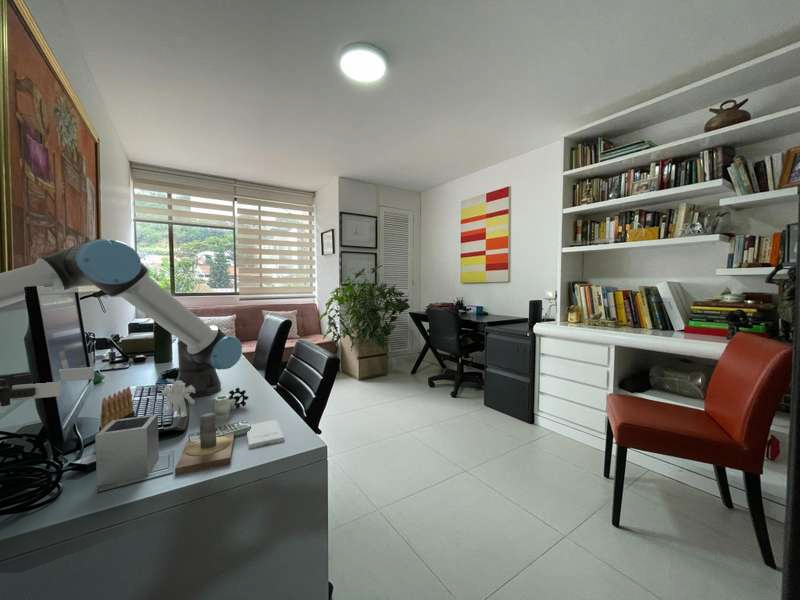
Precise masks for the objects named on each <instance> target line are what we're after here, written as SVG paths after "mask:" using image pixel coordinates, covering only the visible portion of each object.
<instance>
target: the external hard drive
mask: <svg viewBox="0 0 800 600" xmlns="http://www.w3.org/2000/svg"><path fill="white" fill-rule="evenodd" d="M250 425H251V429H250V431H248V432H247V434H246V441H247V447H249V448H250V449H254V448H258V447H257V446H259V447H262V446H261V445H264V446H266V445H265V444H267V445H269V444H268V443H273V444H275V443H274V442H277V443H279V442H278V441H282V440H284V441H285V436H284V433H283V430H282V428H281V426H280V423H279V421H278V420H277V419H272V420H268V421H262V422H256V423H252V424H250ZM282 442H283V441H282ZM253 447H254V448H253ZM249 448H248V449H249Z"/></svg>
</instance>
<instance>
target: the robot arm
mask: <svg viewBox="0 0 800 600" xmlns="http://www.w3.org/2000/svg"><path fill="white" fill-rule="evenodd" d="M149 275H150V270H149V268H148V267H147V266H145V265H144V264H143V263H142V261H141V257H140V255H139V254H138V253H137V251H136V250H135V249H134V248H133V247H132V246H130V245H129V244H127V243H125V242H122V241H120V240H115V239H108V238H107V239H106V238H100V239H94V240H89V241H88V242H83V243H78V244H75V245H73V246H70V247H68V248H66V249H63V250H60V251H58V252H56V253H52V254H50V255H46V256H44V257H40V258H37V259H36V260H35V262H34V264H30V265H25V266H22V267H18V268H15V269H12V270H8V271H3V272H0V308H3V307H6V306H9V305H12V304H15V303H18V302H21V301H24V300H26V299H25V292H24V287H26V286H31V285H38V286H44V287H51V288H58V290H59V291H58V292H63V291H66V290H69V289H72V288H77V287H83V286H88V285H94V286H95V287H96V288H98V289H99V290H100V291H102V292H103V293H105V294H106V295H108V296H109V297H111V298H122V299H123V300H125V301H127V302H128V303H129V304H131V305H132V306H134V307H135V308H136V309H137V310H138V311H140V312H142V314H144V315H145V316H147V317H149V319H151V320H152V321H153V322H155V323H157V324H158V325H159V326H161V327H162V328H163V329H164V330H166V331H167V332H168V333H170V334H172V335H173V336H174V337H176V338H177V355H178V357H177V358H178V376H177V378H176V381H178V380H180V381H183V382H184V383H185V388H187V387H189V385H191V384H192V385H191V386H194V389H195V391H194V392H195V393H193V392H191V393H190V392H188V393H190V394H189V396H190V397H191V398H192V399H193V398H199V397H204V396H209V395H212V394H214V393H217V392H219V391H220V390H222V382H221V380H220V377H219V374H218V373H217V370H229V369H231V368H233V367H234V366H235V365H236V364H237V363H238V362H239V361H240V359H241V357H242V354H243V345H242V342H241V340H240V339H239V338H237V337H236V336H233V335H227V334H226V333H225V332H224V331H223V330H222V329H220V328H219V327H218V326H216V325H208V324H207V323H205V322H204V321H203V319H201V318H200V317H198V316H197V315H196V314H194V312H192V311H191V310H190V309H188V308H187V307H186V306H185V305H184V304H182V303H181V302H180V301H179V300H177V299H176V298H175V297H174V296H173V295H172V294H171V293H169V292H168V291H167V290H166V289H164V287H162V286H161V285H160V284H158V283H157V282H156V281H155V280H154V279H152V278H151V277H150V276H149ZM59 372H60V377H61V381H58V382H55V381H54V382H53V381H52V382H46V383H35V384H33V382H32V378H31V372H30V371H23V372H15V373H9V374H8V373H6V374H0V407H6V406H10V405H11V400H12V401H22V400H24V401H25V400H34V399H42V398H53V397H60V396H62V394H63V393H62V382H63V383H65V382H74V381H75V382H76V381H88V380H94V379H95V366H88V367H87V366H86V367H75V368H74V367H73V368H61V369H60V368H59ZM183 382H182V383H183Z"/></svg>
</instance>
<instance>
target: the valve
mask: <svg viewBox="0 0 800 600" xmlns="http://www.w3.org/2000/svg"><path fill="white" fill-rule="evenodd" d="M240 390H241V388H240V387H237V388H235V389H234V390H233V389H232V390H230V391H228V394H229V395H230V396H228V395H221V396H217V397H215V398H214V407H213V413H215V414H216V423H222V422H226V421H228V420H230V418H231V416H230V415H231V414H230V411H231V410H232V408H233V407H234V406H235V409H240V408H241V407H245V406H246V405H247V402H246V401H247V400H249V396H248V395H245V394H247V393H246V392H247V391H246V389H243V390H241V391H240ZM236 394H237V395H236ZM241 398H242V400H241ZM240 400H241V401H240Z"/></svg>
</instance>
